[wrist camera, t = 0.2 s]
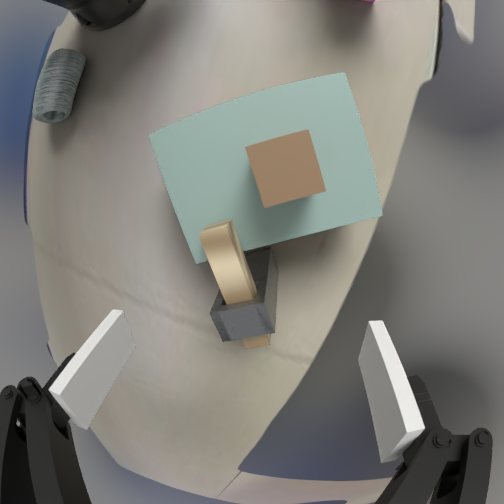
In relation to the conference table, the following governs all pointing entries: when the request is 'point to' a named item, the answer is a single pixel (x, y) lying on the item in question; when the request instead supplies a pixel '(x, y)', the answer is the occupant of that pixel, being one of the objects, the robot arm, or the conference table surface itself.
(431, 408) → the robot arm
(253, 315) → the keeper
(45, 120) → the spool
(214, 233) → the wooden bar
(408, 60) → the conference table surface
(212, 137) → the lid
